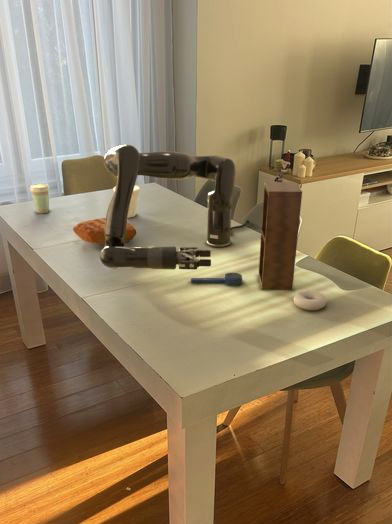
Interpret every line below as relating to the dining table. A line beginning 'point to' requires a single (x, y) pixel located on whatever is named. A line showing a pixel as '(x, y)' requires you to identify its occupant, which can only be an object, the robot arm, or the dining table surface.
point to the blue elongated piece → (221, 280)
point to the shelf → (279, 235)
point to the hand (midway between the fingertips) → (210, 258)
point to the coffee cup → (40, 197)
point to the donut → (309, 300)
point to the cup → (133, 201)
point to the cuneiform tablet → (99, 231)
